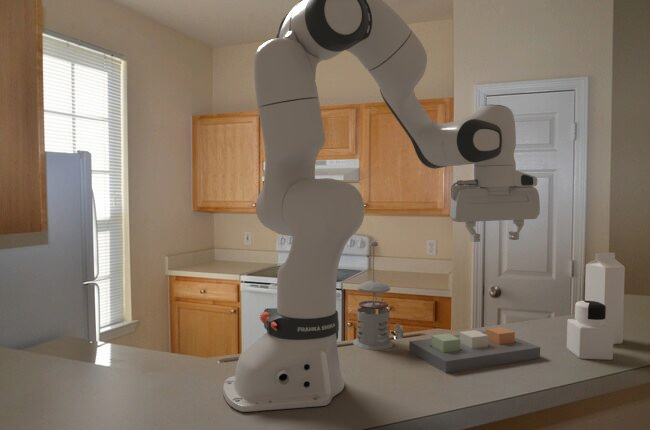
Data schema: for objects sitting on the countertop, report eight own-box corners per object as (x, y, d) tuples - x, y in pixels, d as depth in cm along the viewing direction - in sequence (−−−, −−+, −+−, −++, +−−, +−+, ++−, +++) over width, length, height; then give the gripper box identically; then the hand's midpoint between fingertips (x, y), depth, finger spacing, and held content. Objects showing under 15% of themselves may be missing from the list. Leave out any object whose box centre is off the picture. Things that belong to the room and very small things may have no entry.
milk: (622, 343, 115) (626, 254, 114) (602, 345, 114) (606, 254, 113) (601, 336, 121) (605, 251, 120) (582, 338, 119) (586, 251, 118)
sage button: (443, 353, 101) (443, 341, 101) (431, 347, 105) (431, 335, 105) (460, 350, 103) (460, 339, 103) (448, 344, 107) (448, 333, 107)
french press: (348, 347, 112) (348, 242, 110) (360, 333, 123) (361, 237, 121) (389, 352, 108) (390, 243, 107) (398, 337, 119) (399, 239, 118)
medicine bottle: (597, 349, 111) (599, 299, 110) (613, 360, 104) (615, 306, 103) (566, 348, 111) (567, 298, 111) (579, 359, 104) (580, 305, 104)
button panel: (445, 373, 96) (445, 361, 96) (409, 351, 109) (409, 341, 109) (539, 357, 105) (540, 347, 105) (495, 339, 118) (496, 330, 118)
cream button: (471, 349, 104) (472, 337, 104) (459, 343, 108) (459, 332, 108) (488, 346, 105) (488, 335, 105) (475, 341, 110) (475, 330, 109)
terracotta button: (499, 345, 107) (499, 334, 106) (485, 339, 111) (486, 328, 111) (514, 343, 108) (514, 332, 108) (500, 337, 112) (501, 326, 112)
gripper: (457, 180, 101) (457, 244, 102) (544, 178, 104) (543, 240, 105) (445, 180, 107) (445, 241, 108) (527, 178, 110) (527, 237, 111)
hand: (494, 240), depth 107 cm, fingers open, 8 cm apart
